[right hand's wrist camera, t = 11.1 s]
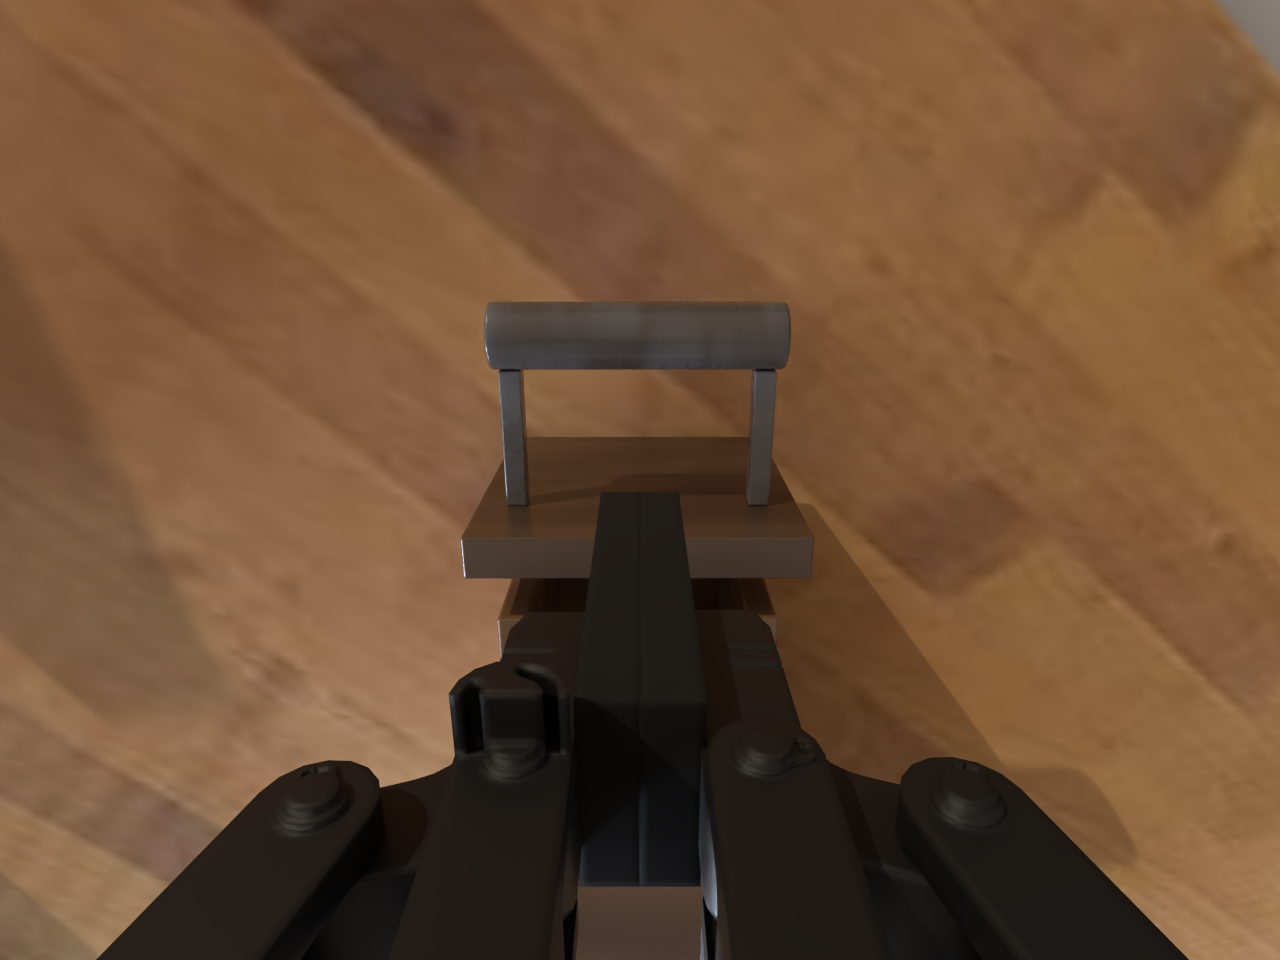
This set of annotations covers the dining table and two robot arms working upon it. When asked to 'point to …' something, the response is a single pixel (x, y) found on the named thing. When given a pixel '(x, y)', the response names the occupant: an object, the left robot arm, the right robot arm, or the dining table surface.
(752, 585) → the drawer
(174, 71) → the dining table surface
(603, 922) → the cabinet
